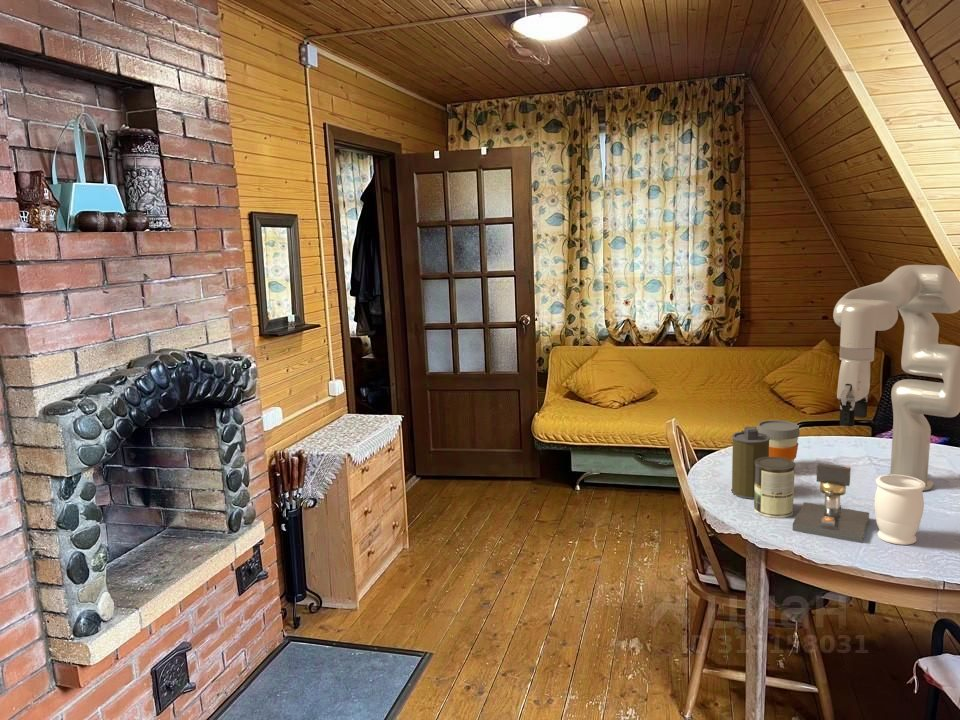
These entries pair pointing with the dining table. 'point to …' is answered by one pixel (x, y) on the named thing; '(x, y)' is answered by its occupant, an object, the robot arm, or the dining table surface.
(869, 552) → the dining table surface
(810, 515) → the lever latch plate
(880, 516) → the jar
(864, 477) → the dining table surface
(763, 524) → the dining table surface
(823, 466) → the latch lever
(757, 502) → the coffee can
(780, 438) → the reusable coffee cup
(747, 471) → the canister
